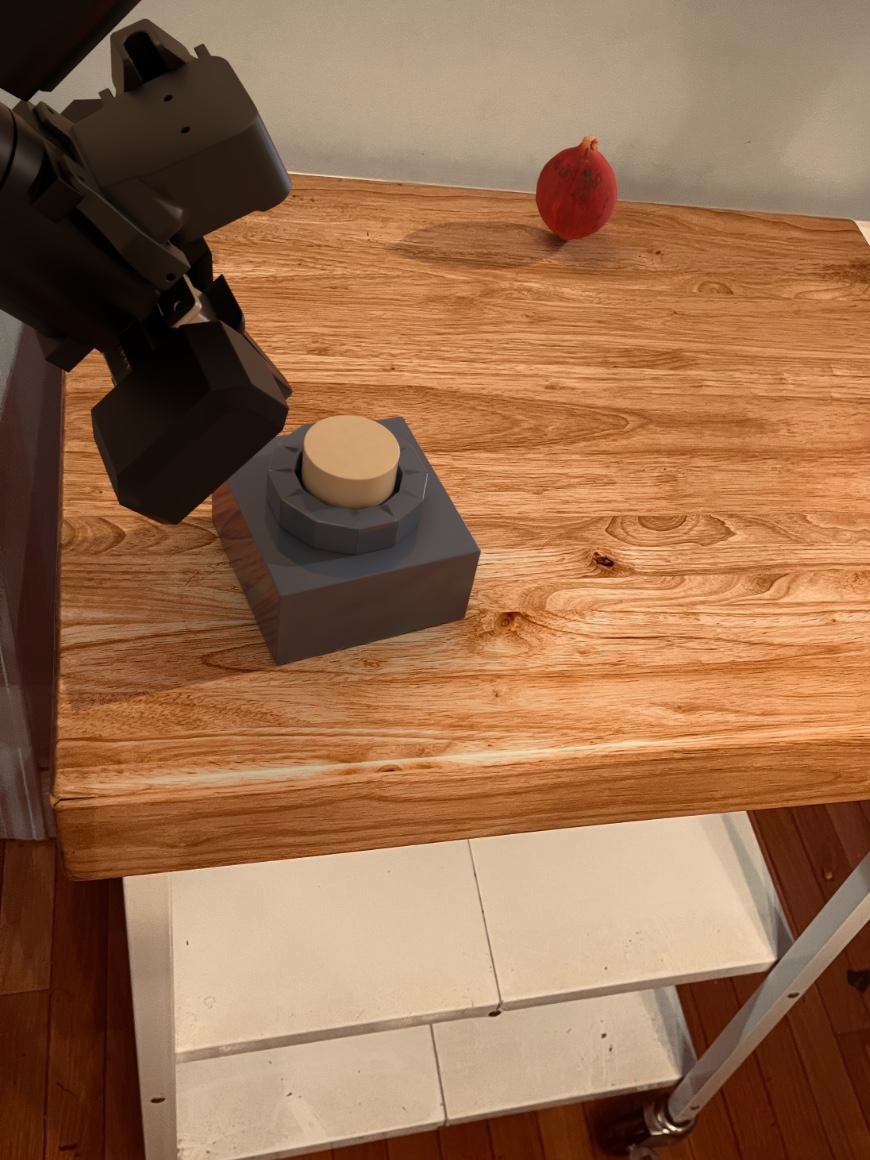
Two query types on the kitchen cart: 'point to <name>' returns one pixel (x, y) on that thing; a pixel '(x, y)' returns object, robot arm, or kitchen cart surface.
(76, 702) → the kitchen cart surface
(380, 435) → the tan push button
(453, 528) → the grey button base
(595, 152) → the pomegranate
